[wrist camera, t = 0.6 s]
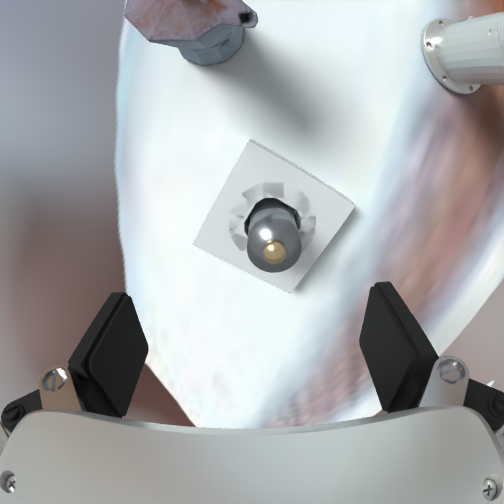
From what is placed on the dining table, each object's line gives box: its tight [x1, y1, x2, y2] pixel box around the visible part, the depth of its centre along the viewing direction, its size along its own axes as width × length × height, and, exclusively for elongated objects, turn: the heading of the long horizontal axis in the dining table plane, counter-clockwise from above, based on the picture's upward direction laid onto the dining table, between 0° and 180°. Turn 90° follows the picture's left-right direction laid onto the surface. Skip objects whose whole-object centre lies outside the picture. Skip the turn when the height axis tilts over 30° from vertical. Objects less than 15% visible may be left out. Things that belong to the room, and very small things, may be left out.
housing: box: [192, 139, 355, 293], centre depth 39 cm, size 16×16×3 cm
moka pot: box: [124, 0, 258, 66], centre depth 20 cm, size 10×15×20 cm, turn 63°
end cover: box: [247, 198, 302, 273], centre depth 35 cm, size 6×6×11 cm
